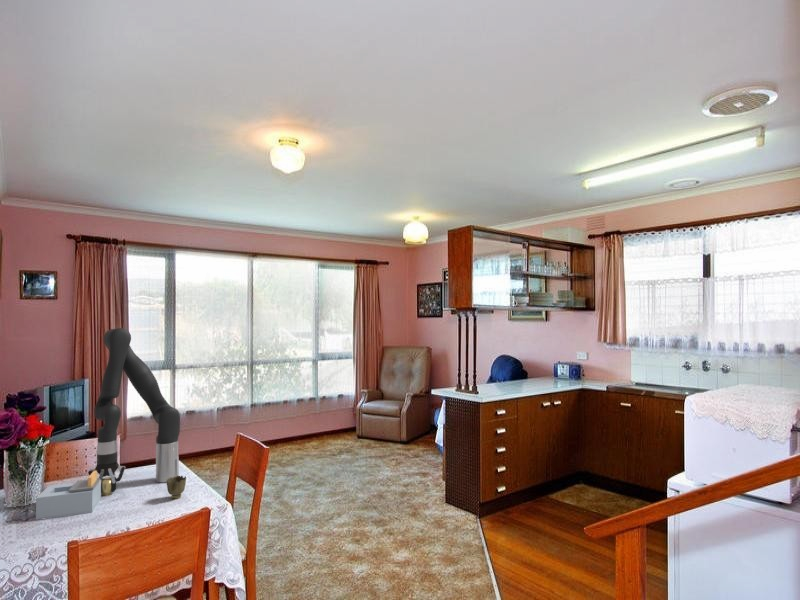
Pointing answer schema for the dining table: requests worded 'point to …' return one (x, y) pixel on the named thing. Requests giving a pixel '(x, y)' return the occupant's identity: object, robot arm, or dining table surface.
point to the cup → (176, 486)
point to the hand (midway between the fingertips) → (107, 492)
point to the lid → (86, 483)
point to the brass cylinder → (106, 486)
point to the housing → (66, 501)
